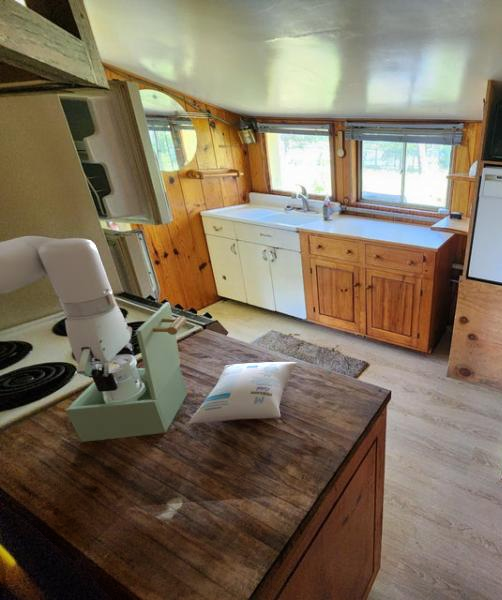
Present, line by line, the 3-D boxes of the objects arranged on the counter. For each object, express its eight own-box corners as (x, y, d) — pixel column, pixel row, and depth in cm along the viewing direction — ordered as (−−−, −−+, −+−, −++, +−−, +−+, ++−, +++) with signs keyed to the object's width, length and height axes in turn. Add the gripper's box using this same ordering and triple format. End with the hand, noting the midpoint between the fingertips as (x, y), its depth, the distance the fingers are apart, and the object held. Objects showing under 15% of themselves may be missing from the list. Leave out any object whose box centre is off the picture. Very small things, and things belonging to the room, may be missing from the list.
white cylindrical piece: (130, 428, 70) (107, 372, 64) (105, 421, 72) (80, 365, 65) (159, 406, 76) (141, 353, 70) (136, 400, 78) (116, 347, 72)
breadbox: (81, 442, 67) (65, 410, 64) (116, 400, 79) (104, 370, 75) (165, 432, 70) (154, 401, 67) (187, 393, 82) (179, 365, 78)
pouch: (222, 352, 85) (183, 404, 67) (297, 353, 87) (279, 403, 69) (226, 377, 88) (190, 434, 70) (298, 377, 90) (281, 431, 72)
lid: (135, 330, 60) (167, 331, 61) (165, 301, 71) (191, 302, 72) (151, 400, 66) (179, 399, 68) (176, 363, 78) (200, 363, 79)
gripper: (96, 287, 69) (122, 356, 77) (29, 327, 54) (70, 408, 61) (135, 286, 71) (157, 354, 78) (82, 324, 55) (116, 404, 63)
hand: (119, 377), depth 70 cm, fingers closed on white cylindrical piece, 7 cm apart
